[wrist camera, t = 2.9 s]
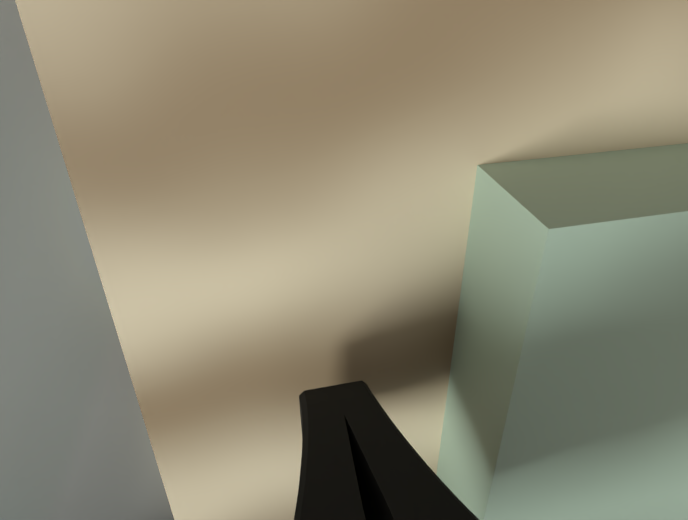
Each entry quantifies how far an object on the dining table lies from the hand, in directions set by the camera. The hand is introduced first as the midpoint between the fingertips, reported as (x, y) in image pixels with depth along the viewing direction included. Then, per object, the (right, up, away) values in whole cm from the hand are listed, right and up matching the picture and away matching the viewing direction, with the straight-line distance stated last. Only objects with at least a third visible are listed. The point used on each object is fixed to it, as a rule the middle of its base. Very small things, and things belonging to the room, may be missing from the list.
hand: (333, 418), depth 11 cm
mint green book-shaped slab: (+7, +1, +2) cm, 7 cm away
